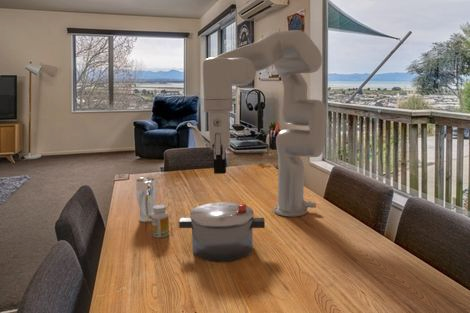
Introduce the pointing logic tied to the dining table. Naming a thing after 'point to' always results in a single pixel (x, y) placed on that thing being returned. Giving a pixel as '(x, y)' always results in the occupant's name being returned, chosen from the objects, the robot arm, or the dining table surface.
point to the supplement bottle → (160, 221)
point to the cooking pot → (222, 240)
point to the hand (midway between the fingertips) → (220, 172)
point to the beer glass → (146, 197)
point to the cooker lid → (221, 215)
